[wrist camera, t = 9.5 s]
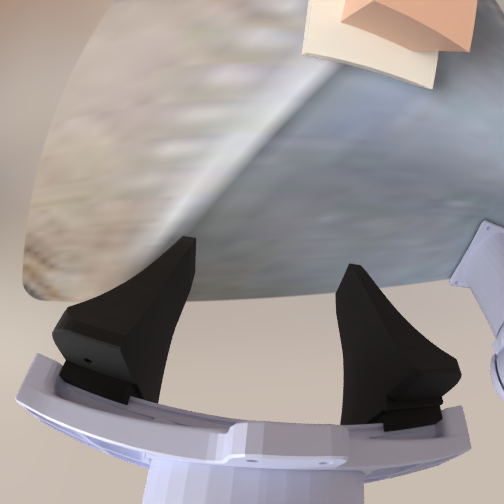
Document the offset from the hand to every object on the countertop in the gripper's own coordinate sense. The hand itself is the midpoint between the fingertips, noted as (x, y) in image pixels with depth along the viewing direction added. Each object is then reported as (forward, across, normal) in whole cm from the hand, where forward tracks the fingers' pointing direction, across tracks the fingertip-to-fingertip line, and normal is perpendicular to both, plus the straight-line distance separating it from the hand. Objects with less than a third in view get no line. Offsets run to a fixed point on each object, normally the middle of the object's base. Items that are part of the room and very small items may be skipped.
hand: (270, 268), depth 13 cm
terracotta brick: (+6, -4, -16) cm, 18 cm away
